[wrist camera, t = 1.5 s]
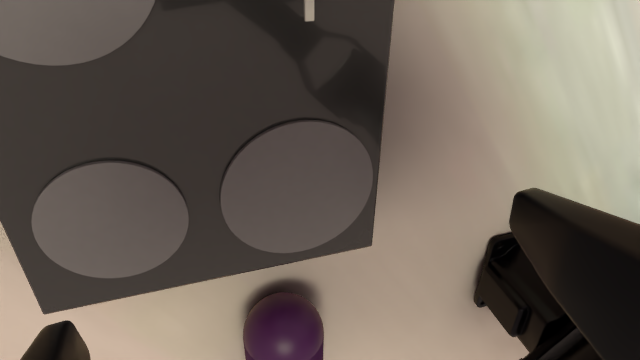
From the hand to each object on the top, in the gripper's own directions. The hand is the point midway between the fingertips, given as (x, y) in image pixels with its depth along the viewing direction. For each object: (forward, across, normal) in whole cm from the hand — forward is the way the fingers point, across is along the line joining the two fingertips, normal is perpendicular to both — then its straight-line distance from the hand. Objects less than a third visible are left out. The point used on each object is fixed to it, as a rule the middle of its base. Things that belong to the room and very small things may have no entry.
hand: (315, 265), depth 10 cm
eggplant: (+14, 0, +19) cm, 24 cm away
